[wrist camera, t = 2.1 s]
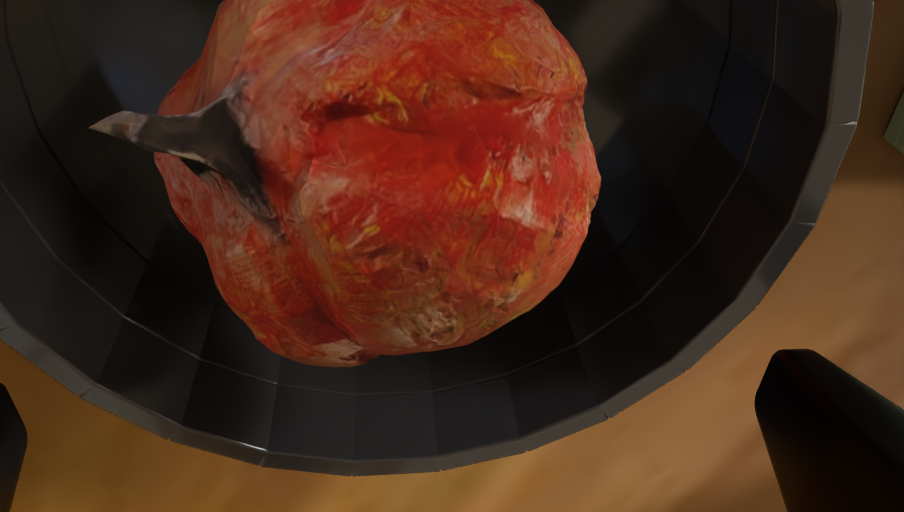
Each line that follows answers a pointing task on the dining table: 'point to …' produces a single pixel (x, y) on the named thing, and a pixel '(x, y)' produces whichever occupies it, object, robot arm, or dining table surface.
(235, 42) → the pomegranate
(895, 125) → the tray
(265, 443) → the pan
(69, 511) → the dining table surface
